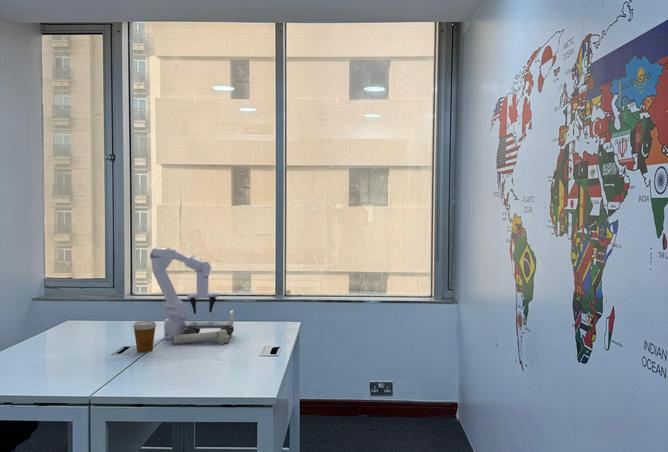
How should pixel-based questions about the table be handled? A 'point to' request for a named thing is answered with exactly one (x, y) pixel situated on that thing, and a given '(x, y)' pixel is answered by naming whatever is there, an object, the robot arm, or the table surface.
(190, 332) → the trolley
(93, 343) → the table surface
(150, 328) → the disposable coffee cup
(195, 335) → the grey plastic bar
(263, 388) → the table surface
